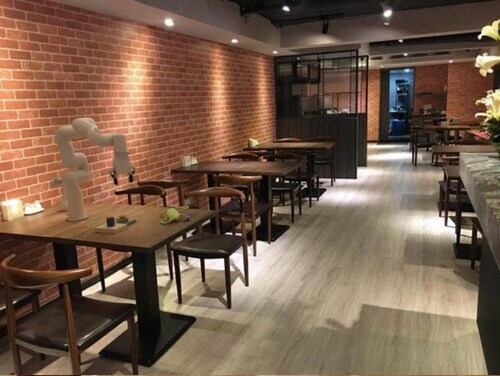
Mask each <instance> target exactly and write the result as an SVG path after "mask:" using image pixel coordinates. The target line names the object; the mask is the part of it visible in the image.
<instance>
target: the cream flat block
mask: <svg viewBox="0 0 500 376" xmlns="http://www.w3.org/2000/svg"><path fill="white" fill-rule="evenodd" d="M126 229H128V226H127V224H117V223H115V226H113V227H107V222H106V223H102V224H101V225H98V226H96V227H94V232H95V233H105V234H117V233H120V232H121V231H124V230H126Z"/></svg>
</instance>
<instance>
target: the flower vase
mask: <svg viewBox="0 0 500 376" xmlns="http://www.w3.org/2000/svg"><path fill="white" fill-rule="evenodd" d="M49 182H50V184H52V188H53V189H54V188H56V189H59V188H60V187H61V192H62V198H61V202H60V203H59V205H58V208H59V209H60V210H61V211H62V212H69V210H68V202H67V194H66V188H65V184H64V181H63V175H62V176H61V177H60V178H59V177H58V176H55V177H53V180H50V181H49Z"/></svg>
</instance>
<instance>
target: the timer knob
mask: <svg viewBox="0 0 500 376" xmlns="http://www.w3.org/2000/svg"><path fill="white" fill-rule="evenodd" d="M105 220H106V221H105V222H106V223H107V227H113V226H115V221H114V220H115V216H107V217H106V218H105Z"/></svg>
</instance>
